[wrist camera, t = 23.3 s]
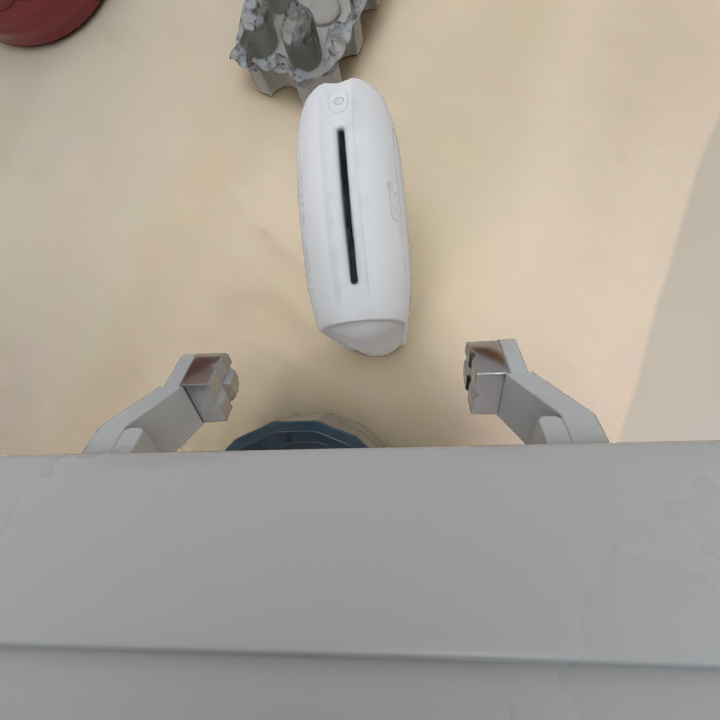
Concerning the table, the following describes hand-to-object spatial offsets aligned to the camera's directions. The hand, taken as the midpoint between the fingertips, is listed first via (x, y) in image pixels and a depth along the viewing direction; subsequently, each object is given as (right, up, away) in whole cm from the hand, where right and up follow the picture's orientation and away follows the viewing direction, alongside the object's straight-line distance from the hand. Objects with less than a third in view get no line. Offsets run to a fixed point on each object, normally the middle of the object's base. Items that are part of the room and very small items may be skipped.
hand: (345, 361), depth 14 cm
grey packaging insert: (-2, +22, +14) cm, 26 cm away
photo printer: (+1, +5, +13) cm, 14 cm away
